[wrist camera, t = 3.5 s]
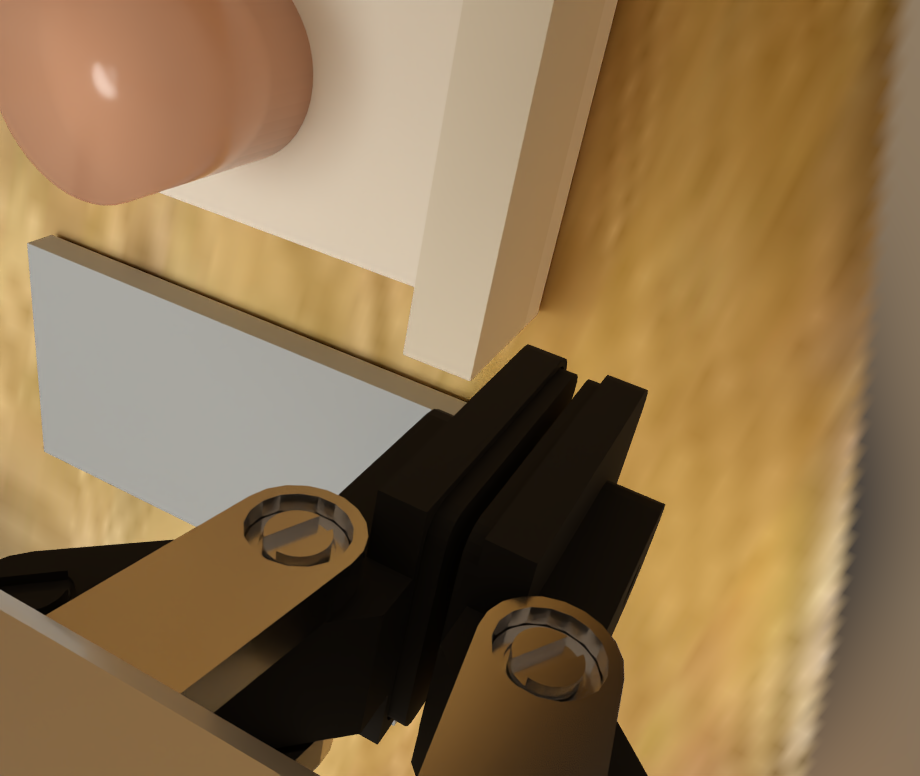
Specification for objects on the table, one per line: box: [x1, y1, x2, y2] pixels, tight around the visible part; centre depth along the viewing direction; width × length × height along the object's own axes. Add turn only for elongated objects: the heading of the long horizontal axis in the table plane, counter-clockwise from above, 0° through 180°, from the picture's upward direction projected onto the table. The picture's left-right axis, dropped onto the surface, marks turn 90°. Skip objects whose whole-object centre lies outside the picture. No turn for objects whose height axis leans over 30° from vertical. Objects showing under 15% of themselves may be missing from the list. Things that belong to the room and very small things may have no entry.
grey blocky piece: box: [27, 235, 467, 725], centre depth 32 cm, size 10×20×5 cm, turn 78°
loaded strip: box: [159, 0, 618, 381], centre depth 25 cm, size 10×20×5 cm, turn 78°
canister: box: [0, 0, 313, 205], centre depth 24 cm, size 6×6×6 cm
